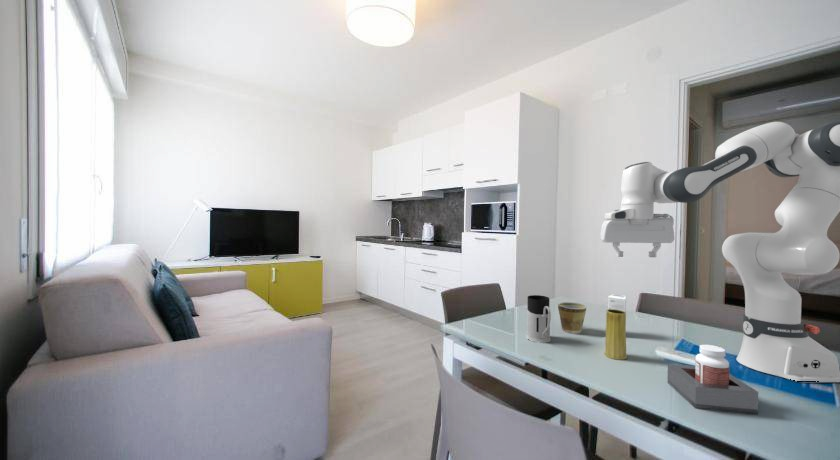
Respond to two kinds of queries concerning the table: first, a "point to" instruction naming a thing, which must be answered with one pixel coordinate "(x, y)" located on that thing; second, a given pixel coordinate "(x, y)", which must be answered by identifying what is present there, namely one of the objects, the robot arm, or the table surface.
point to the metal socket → (712, 391)
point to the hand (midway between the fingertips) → (635, 257)
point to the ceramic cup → (572, 316)
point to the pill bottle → (711, 366)
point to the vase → (615, 334)
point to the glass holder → (538, 319)
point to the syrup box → (617, 302)
